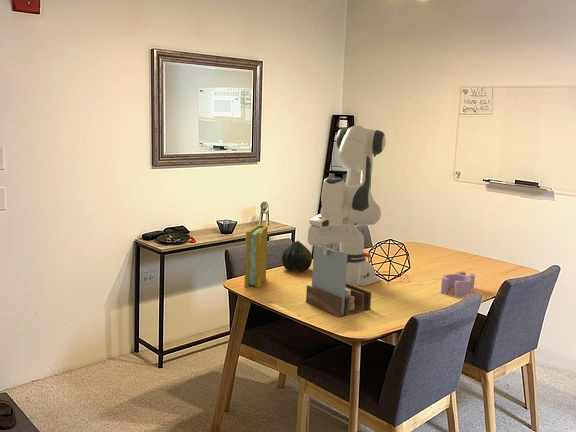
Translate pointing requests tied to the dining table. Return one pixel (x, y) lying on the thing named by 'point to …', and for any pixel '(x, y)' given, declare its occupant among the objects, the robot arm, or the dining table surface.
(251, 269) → the book
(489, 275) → the dining table surface
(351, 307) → the offcut bottom
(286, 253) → the squash
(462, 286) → the clip
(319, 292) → the rack
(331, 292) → the sheet
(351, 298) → the offcut middle
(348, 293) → the offcut top
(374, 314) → the dining table surface
